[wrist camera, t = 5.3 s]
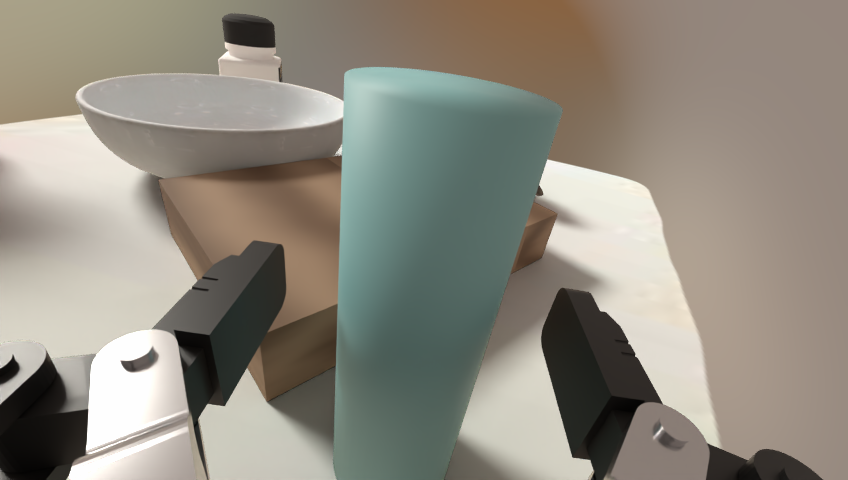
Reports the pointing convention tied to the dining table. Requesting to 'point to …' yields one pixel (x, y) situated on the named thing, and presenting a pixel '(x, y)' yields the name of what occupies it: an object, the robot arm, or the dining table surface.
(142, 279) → the dining table surface
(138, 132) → the serving bowl
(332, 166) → the socket board
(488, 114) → the pin
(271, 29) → the medicine bottle
